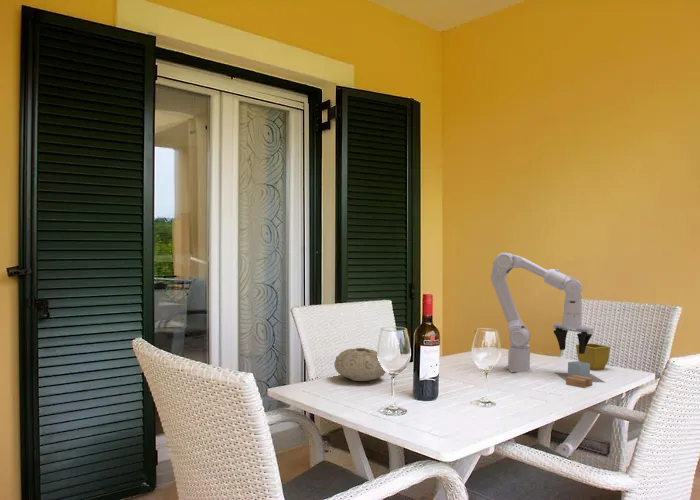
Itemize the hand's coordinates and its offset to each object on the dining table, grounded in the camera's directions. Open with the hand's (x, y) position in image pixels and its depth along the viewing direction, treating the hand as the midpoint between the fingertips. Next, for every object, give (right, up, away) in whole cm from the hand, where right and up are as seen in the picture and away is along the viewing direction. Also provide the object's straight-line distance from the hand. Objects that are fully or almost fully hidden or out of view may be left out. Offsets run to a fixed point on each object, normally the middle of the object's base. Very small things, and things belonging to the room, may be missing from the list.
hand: (571, 351), depth 189 cm
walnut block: (-3, -9, -14) cm, 17 cm away
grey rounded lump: (-75, -8, -10) cm, 77 cm away
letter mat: (+1, -9, -3) cm, 9 cm away
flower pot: (+13, -9, +13) cm, 21 cm away
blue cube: (+1, -8, -3) cm, 9 cm away
